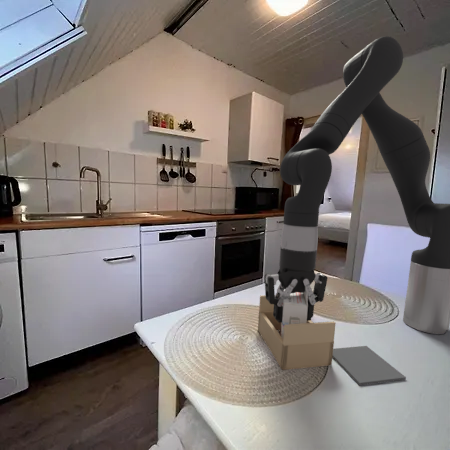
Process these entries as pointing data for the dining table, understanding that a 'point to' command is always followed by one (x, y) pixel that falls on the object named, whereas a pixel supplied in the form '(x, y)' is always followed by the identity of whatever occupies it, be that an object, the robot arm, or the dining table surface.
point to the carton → (296, 340)
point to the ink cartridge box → (294, 309)
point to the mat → (365, 365)
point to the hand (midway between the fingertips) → (292, 319)
